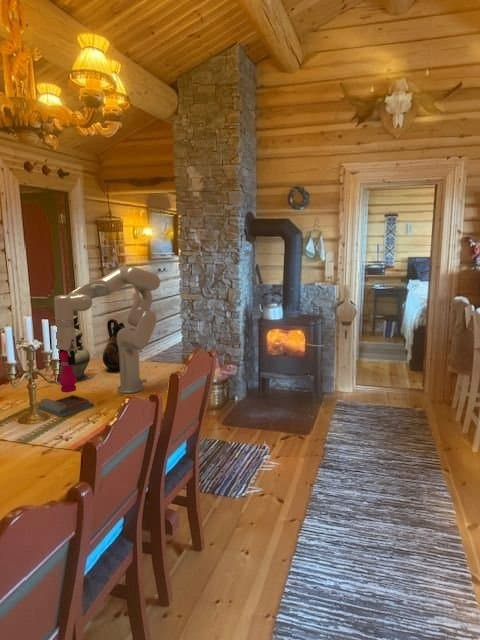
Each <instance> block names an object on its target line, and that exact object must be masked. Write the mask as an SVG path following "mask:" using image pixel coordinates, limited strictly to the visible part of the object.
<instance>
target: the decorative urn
mask: <svg viewBox="0 0 480 640" xmlns="http://www.w3.org/2000/svg"><path fill="white" fill-rule="evenodd" d="M73 316H74V329H75V335H76V346H77V347H78V350H77V352H76V355H75V364H73V365H72V369H73V372H74V374H75V376H76V379H77V382H76V383H78V382H82V381H83V380H84V381H85V380H87V379H91V378H92V376H91V375H88V374H87V375H86V374H85V371H86V370H87V367H88V365H89V363H90V361H91V360H90V358H91V353H90V352H89V350H88V349H87V348H86V347H85V346H84V345H83V339H82V337H83V331H82V329H81V328H80V325H81V322H79V321H78V318H79V315H77V314H76V315H74V314H73ZM53 321H55V317H54V318H53ZM53 326H56V323H54V324H53ZM70 349H72V348H70ZM71 351H72V350H71ZM61 374H62V365H61V363H60V365H59V374H57V376H58V377H57V382H56V384H60V377H61ZM48 380H49V381H50V382H52V381H53V377H50V378H48Z"/></svg>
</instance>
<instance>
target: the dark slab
mask: <svg viewBox="0 0 480 640" xmlns="http://www.w3.org/2000/svg"><path fill="white" fill-rule="evenodd" d="M89 400H90V399H88V398H85V397H82V396H78V395H74V394H71V395H68V396H65V397H62V398H58V399H50V398H47V397H45V398H42V399H40V404H39V405H37V409H38V408H39V409H38V410H40V411H44V412H46V413H49V414H51V415H54V416H56V417H57V416H58V417H59V418H60V417H61V418H64V417H68V416H71V415H74V414H76V413H80V412H82V411H85V410H88V409H90V408H94V407H95V403H93V402H90V401H89Z"/></svg>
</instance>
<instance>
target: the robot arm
mask: <svg viewBox="0 0 480 640" xmlns="http://www.w3.org/2000/svg"><path fill="white" fill-rule="evenodd" d="M126 285H132V286H133V288H134V291H135V298H134V301H133V303H132V306H131V308H130V310H129V313H128V316H127V323H128V324H129V325H130V326H132V327H135V328H132V327H125V328H123V329H121V330H120V331H119V332H118V333H117V344H118V349H119V362H120V372H119V378H120V379H119V381H120V382H119V383H120V386H118V387H117V392H118V393H121V394H135V393H139V392H141V391H143V390H144V386H143V384H144V383H147V382H148V381H147V378H143V379H141V377H140V376H141V374H140V352H139V350H140V351H141V350H143V349H144V348H146V346H147V345H148V343H149V341H150V339H151V336H152V334H153V333H154V329H155V327H156V324H157V316H156V313H155V312H154V311H152V310H151V306H152V304H153V295H152V294H153V293H152V291H153V292H154V291H156V290H158V289H159V287H160V285H161V279H160V277H159V275H157V274H156V273H154V272H150V271H148V270H144V269H141V268H139V267H135V266H127V265H126V266H119V267H117V268H116V269H114V270H112V271H111V272H109V273H107V274H106V275H104V276H102V277H100V278H98V279H95V280H93V281H91V282H89V283H85V284H83V285H81V286H80V287H77V288H76V289H74V290H72V291H70V292H69V293H68V294H60V295H56V296H54V298H53V302H54V303H53V304H54V305H53V306H54V318H55V320H54V322H55V323H54V324H56V327H57V332H56V339H57V345H56V348H57V349H59V351H58V353H59V355H60V353H61V352H62V351H64V350H67V351H68V355H69V356H68V365H73V364H75V355H76V352H77V350H78V347H77V346H76V335H75V329H74V311H75V312H86V311H88V310H90V309H91V307H92V306H93V299H96V298H101V297H105V296H110V295H111V294H113V293H115V292H116V291H118V290H119V289H121V288H122V287H124V286H126ZM70 348H72V349H70ZM71 350H72V352H70V351H71ZM59 359H60V358H59ZM59 363H61V360H59Z"/></svg>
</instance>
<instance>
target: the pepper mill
mask: <svg viewBox="0 0 480 640" xmlns="http://www.w3.org/2000/svg"><path fill="white" fill-rule="evenodd" d="M70 352H72V351H70ZM68 356H69V355H68V351H67V350H64V351H62V352H61V353H60V355H59V358H60V360H61V365H62V374H61V377H60V383H59V384H60V391H61V393H73V392H75V391H77V386H76V384H77V383H78V382H77V379H76V376H75V374H74V372H73V369H72V365H68Z"/></svg>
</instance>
